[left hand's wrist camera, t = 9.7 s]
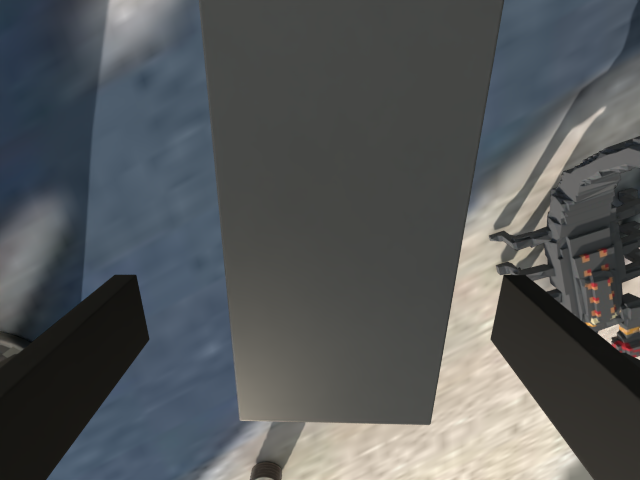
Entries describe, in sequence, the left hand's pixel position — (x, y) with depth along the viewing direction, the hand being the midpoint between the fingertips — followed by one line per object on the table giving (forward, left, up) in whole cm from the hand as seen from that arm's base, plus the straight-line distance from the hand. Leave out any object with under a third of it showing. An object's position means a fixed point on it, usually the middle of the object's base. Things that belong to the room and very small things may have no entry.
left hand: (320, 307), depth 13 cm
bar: (+5, +8, -5) cm, 11 cm away
